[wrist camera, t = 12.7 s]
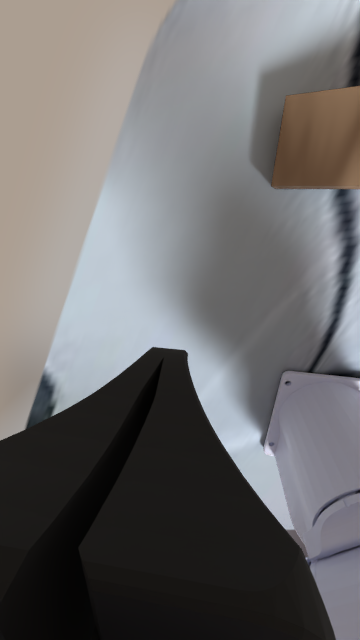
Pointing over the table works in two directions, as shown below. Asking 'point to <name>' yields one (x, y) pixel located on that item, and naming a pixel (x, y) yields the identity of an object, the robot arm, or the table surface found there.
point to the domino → (319, 141)
